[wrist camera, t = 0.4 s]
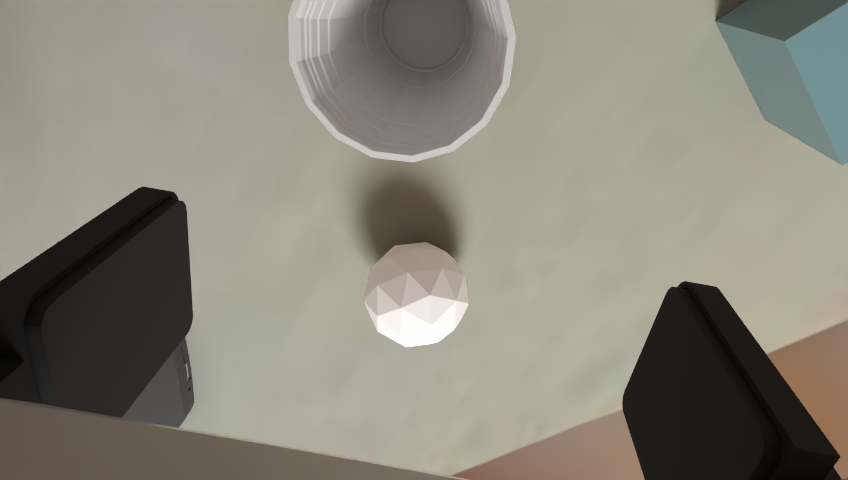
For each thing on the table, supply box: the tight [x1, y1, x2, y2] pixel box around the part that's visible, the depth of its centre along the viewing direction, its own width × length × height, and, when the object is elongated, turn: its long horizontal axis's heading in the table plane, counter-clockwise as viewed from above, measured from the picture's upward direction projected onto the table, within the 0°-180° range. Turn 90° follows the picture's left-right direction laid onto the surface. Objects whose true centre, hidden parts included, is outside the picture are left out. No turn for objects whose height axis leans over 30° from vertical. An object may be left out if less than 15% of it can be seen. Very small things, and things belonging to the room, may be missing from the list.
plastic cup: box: [288, 0, 516, 162], centre depth 30 cm, size 11×11×12 cm
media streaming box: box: [122, 337, 194, 428], centre depth 51 cm, size 15×15×3 cm
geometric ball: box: [364, 242, 469, 347], centre depth 41 cm, size 8×8×8 cm
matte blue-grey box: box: [715, 0, 848, 165], centre depth 30 cm, size 8×8×9 cm
